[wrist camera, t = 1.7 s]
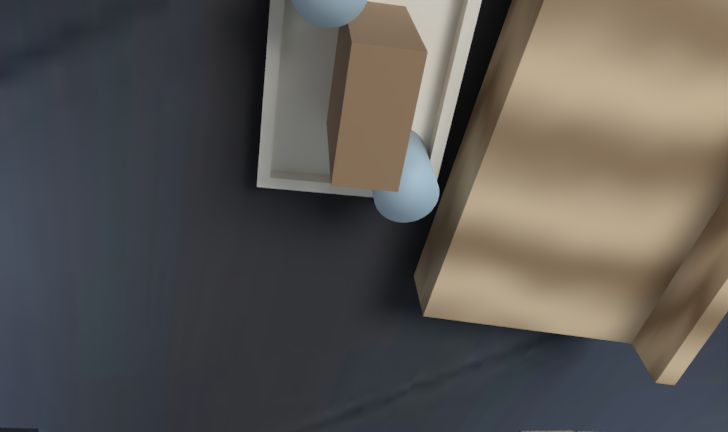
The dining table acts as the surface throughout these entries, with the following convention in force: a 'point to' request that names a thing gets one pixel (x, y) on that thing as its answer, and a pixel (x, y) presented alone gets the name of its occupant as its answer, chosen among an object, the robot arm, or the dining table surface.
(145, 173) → the dining table surface
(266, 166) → the caddy tray
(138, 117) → the dining table surface
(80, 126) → the dining table surface
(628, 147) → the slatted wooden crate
